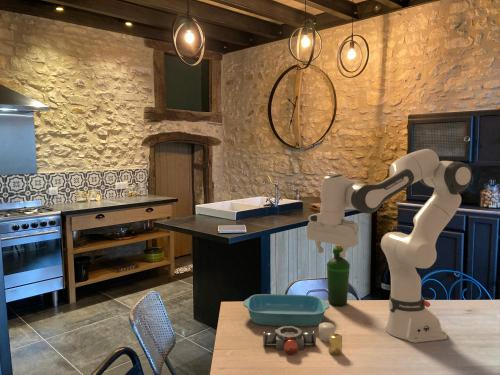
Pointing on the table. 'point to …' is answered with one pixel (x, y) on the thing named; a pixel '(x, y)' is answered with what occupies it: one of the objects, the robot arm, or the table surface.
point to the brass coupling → (335, 344)
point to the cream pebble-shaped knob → (326, 331)
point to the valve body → (289, 339)
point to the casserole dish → (286, 309)
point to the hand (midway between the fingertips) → (331, 254)
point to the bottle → (338, 278)
